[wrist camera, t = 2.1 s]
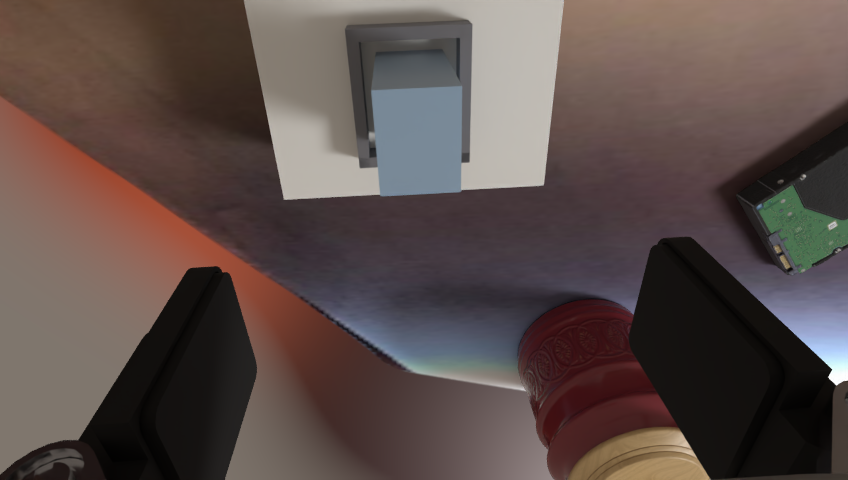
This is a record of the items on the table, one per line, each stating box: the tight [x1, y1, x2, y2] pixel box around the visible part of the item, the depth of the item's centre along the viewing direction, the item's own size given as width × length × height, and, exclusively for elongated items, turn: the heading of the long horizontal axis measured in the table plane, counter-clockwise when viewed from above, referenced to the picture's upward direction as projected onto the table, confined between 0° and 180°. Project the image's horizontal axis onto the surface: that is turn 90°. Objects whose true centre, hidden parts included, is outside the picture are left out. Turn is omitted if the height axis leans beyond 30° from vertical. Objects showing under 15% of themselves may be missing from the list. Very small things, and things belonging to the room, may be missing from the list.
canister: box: [518, 299, 710, 480], centre depth 41 cm, size 13×13×18 cm
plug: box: [371, 49, 462, 196], centre depth 23 cm, size 4×4×8 cm
